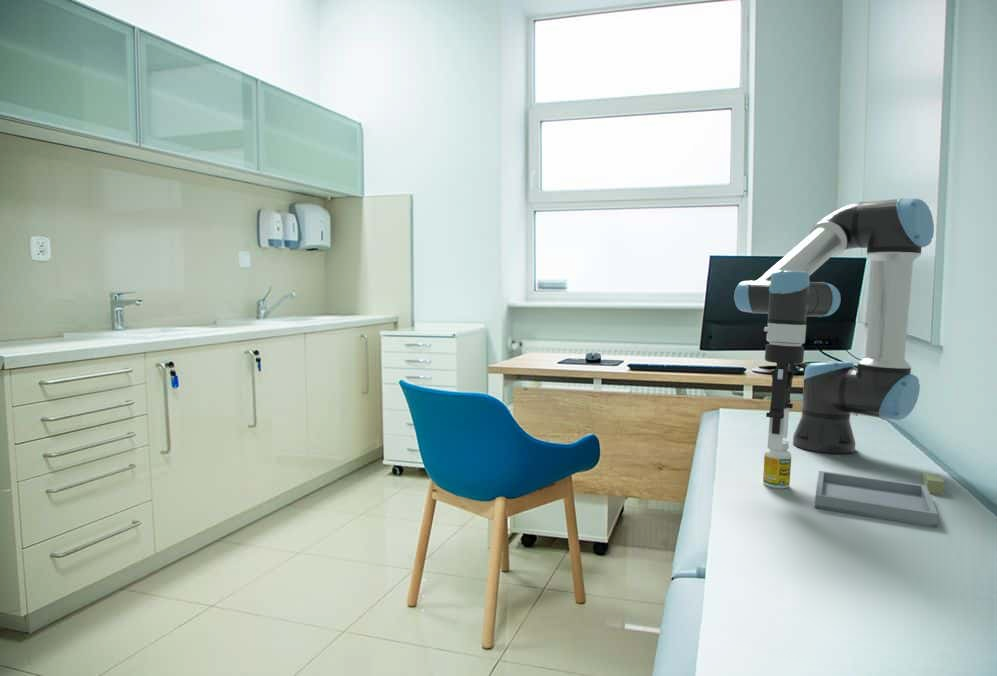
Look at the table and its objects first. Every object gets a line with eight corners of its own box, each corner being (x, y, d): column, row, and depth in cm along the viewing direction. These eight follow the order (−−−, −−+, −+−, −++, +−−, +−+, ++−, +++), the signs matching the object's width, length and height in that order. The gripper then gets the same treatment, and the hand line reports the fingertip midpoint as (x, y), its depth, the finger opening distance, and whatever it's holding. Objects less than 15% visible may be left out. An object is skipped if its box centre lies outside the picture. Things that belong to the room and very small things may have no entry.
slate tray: (818, 481, 148) (819, 470, 148) (925, 497, 139) (926, 485, 139) (814, 507, 130) (815, 495, 130) (936, 527, 121) (938, 514, 121)
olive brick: (922, 486, 148) (923, 473, 147) (938, 488, 146) (939, 474, 146) (926, 493, 142) (927, 480, 142) (943, 496, 141) (944, 482, 141)
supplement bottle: (772, 480, 148) (775, 437, 147) (794, 486, 144) (797, 442, 143) (757, 483, 145) (760, 440, 144) (779, 490, 141) (782, 445, 140)
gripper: (771, 339, 155) (765, 430, 156) (759, 346, 133) (751, 451, 134) (807, 342, 151) (800, 435, 153) (800, 349, 129) (792, 457, 131)
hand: (777, 443), depth 144 cm, fingers open, 13 cm apart
